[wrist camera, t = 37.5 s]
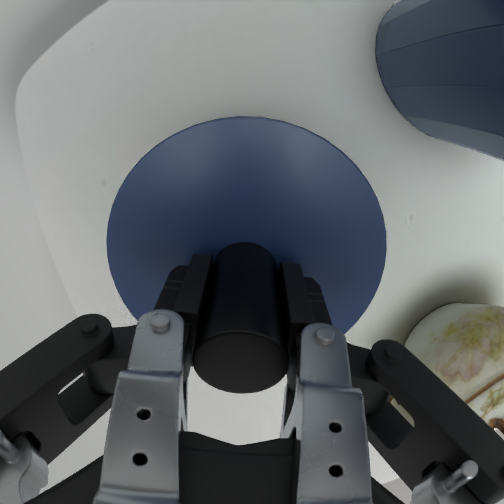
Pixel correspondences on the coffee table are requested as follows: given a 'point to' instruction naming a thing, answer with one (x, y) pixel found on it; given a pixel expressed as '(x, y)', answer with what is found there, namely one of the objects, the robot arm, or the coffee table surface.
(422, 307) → the coffee table surface
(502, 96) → the pot
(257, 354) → the lid
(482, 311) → the sugar bowl
